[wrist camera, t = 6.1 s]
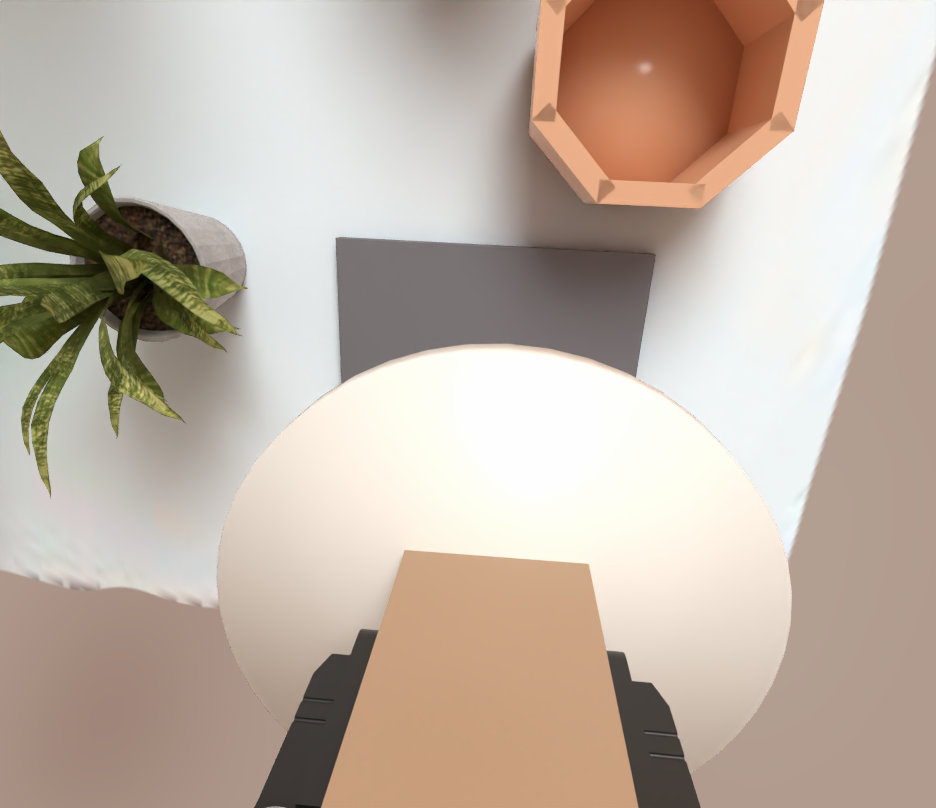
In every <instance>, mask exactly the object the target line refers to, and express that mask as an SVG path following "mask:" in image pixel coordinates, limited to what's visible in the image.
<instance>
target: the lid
mask: <svg viewBox="0 0 936 808" xmlns="http://www.w3.org/2000/svg"><path fill="white" fill-rule="evenodd" d="M217 587H218V599H219V608H220V612H221V617H222V621H223V625H224V629H225V633H226V637H227V639H228V642H229V644H230V647H231V649H232V652H233V654H234V657H235V659H236V662H237V664H238V666H239V667H240V669H241V671H242V673H243V674H244V676H245V678H246V680H247V682H248V684H249V685H250V687H251V689H252V690H253V691H254V693H255V694H256V695H257V697H258V698H259V699H260V701H261V702H262V703H263V705H264V706H265V707H266V709H267V710H268V712H269V713H270V714H271V715H272V716H273V717H274V718H275V719H276V720H277V721H278V722H279V723H280V724H281V725H282V727H283V728H284V729H285V730H286V731H287V732H288V730H289V728H290V726H291V724H292V722H294V718H295V714H296V712H297V710H298V707H299V705H300V703H301V702H302V701H303V696H304V694H305V691H306V689H307V687H308V684H309V682H310V680H311V677H312V675H313V673H314V672H315V671H316V670H317V669H318V668H319V667H320V666H321V665H322V664H323V662H324V661H325V660H326V659H327V658H328V657H329V656H330V655H331V654H343V655H350V654H351V652H352V649H353V646H354V644H355V641H356V638H357V636H358V633H359V631H360V630H361V629H370V630H379V631H378V634H377V637H376V640H375V643H374V646H373V649H372V652H371V655H370V658H369V661H368V665H367V668H366V671H365V674H364V677H363V680H362V683H361V686H360V689H359V692H358V695H357V698H356V702H355V705H354V708H353V711H352V714H351V717H350V720H349V723H348V726H347V729H346V732H345V735H344V738H343V742H342V745H341V748H340V751H339V754H338V757H337V760H336V763H335V766H334V769H333V772H332V775H331V779H330V782H329V785H328V788H327V791H326V794H325V797H324V800H323V803H322V806H321V808H638V803H637V798H636V793H635V788H634V783H633V778H632V773H631V769H630V764H629V759H628V754H627V749H626V744H625V739H624V734H623V729H622V724H621V720H620V715H619V710H618V705H617V700H616V695H615V690H614V685H613V680H612V676H611V671H610V666H609V661H608V656H607V651H619V652H624V654H625V656H626V659H627V663H628V667H629V671H630V675H631V679H632V681H638V682H649V683H652V684H653V685H654V687H655V688H656V689H657V691H658V692H659V693H660V695H661V696H662V697H663V699H664V700H665V701H666V703H667V704H668V705H669V707H670V710H671V713H672V717H673V720H674V723H675V726H676V730H677V733H678V734H677V735H678V738H679V739H680V743H681V746H682V749H683V752H684V759H685V761H686V762H687V765H688V769H689V772H690V774H691V773H693V772H694V771H695V770H697V769H698V768H699V767H701V766H702V765H703V764H705V763H706V762H707V761H709V760H710V759H711V758H713V757H714V756H716V755H717V754H718V753H719V752H720V751H721V750H722V749H723V748H724V747H725V746H726V745H727V744H728V743H729V742H730V741H731V740H732V739H733V738H735V736H737V735H738V734H739V732H740V731H741V730H742V729H743V727H744V726H745V725H746V724H747V722H748V721H749V720H750V719H751V717H752V716H753V715H754V714H755V712H756V711H757V710H758V708H759V706H760V705H761V703H762V701H763V700H764V698H765V696H766V694H767V693H768V691H769V689H770V687H771V686H772V684H773V682H774V679H775V677H776V674H777V672H778V669H779V666H780V664H781V661H782V658H783V656H784V653H785V648H786V643H787V638H788V634H789V628H790V624H791V598H792V590H791V583H790V576H789V568H788V561H787V557H786V553H785V550H784V547H783V544H782V541H781V538H780V534H779V531H778V528H777V525H776V523H775V521H774V519H773V517H772V516H771V514H770V512H769V510H768V508H767V506H766V504H765V502H764V500H763V498H762V496H761V494H760V493H759V491H758V490H757V488H756V487H755V486H754V484H753V483H752V482H751V480H750V479H749V478H748V476H747V475H746V473H745V472H744V471H743V469H742V468H741V467H740V465H739V464H738V463H737V461H736V460H735V459H734V458H733V457H732V456H731V454H730V453H729V452H728V451H727V450H726V449H725V448H724V446H723V445H722V444H721V443H720V442H719V441H718V440H717V439H716V438H715V437H714V436H713V435H712V434H711V433H710V432H709V431H708V430H707V429H706V428H705V427H704V426H703V425H702V424H701V423H700V422H699V421H698V420H697V419H696V418H695V417H694V416H693V415H692V414H691V413H689V412H688V411H687V410H685V409H684V408H683V407H681V406H680V405H679V404H677V403H676V402H675V401H673V400H672V399H671V398H669V397H668V396H667V395H665V394H664V393H662V392H661V391H659V390H657V389H655V388H654V387H652V386H650V385H648V384H646V383H644V382H643V381H641V380H639V379H637V378H635V377H634V376H632V375H630V374H628V373H626V372H623V371H621V370H618V369H616V368H613V367H610V366H608V365H605V364H603V363H600V362H598V361H595V360H592V359H590V358H586V357H582V356H578V355H574V354H570V353H566V352H562V351H558V350H554V349H550V348H542V347H533V346H524V345H515V344H465V345H458V346H451V347H444V348H438V349H431V350H425V351H422V352H418V353H415V354H411V355H408V356H404V357H400V358H397V359H393V360H390V361H387V362H385V363H383V364H380V365H378V366H376V367H374V368H371V369H369V370H367V371H364V372H362V373H360V374H357V375H355V376H353V377H352V378H350V379H348V380H347V381H345V382H344V383H342V384H340V385H339V386H337V387H335V388H334V389H332V390H331V391H329V392H327V393H326V394H324V395H323V396H322V397H320V398H319V399H318V400H317V401H316V402H314V403H313V404H312V405H311V406H310V407H308V408H307V409H306V410H305V411H304V412H303V413H301V414H300V415H299V416H298V417H297V418H296V419H295V420H294V421H292V422H291V423H290V424H289V425H288V426H287V427H286V428H285V429H284V430H283V431H282V432H281V433H280V434H279V435H278V436H277V437H276V438H275V440H274V441H273V442H272V443H271V444H270V445H269V446H268V448H267V449H266V450H265V451H264V452H263V453H262V454H261V455H260V457H259V458H258V459H257V460H256V461H255V463H254V465H253V466H252V468H251V469H250V471H249V473H248V474H247V476H246V477H245V479H244V480H243V482H242V484H241V485H240V487H239V488H238V491H237V493H236V495H235V498H234V500H233V503H232V505H231V507H230V510H229V512H228V514H227V517H226V520H225V524H224V528H223V533H222V537H221V541H220V545H219V553H218V566H217ZM606 650H607V651H606Z"/></svg>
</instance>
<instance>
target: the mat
mask: <svg viewBox="0 0 936 808" xmlns="http://www.w3.org/2000/svg"><path fill="white" fill-rule="evenodd" d="M336 256H337V281H338V306H339V331H340V355H341V380H342V383H344V382H345V381H347V380H348V379H350V378H352V377H353V376H355V375H357V374H360V373H362V372H364V371H367V370H369V369H371V368H374V367H376V366H378V365H380V364H383V363H385V362H387V361H390V360H393V359H397V358H400V357H404V356H408V355H411V354H415V353H418V352H422V351H425V350H431V349H438V348H444V347H451V346H458V345H465V344H515V345H524V346H533V347H542V348H550V349H554V350H558V351H562V352H566V353H570V354H574V355H578V356H582V357H586V358H590V359H592V360H595V361H598V362H600V363H603V364H605V365H608V366H610V367H613V368H616V369H618V370H621V371H623V372H626V373H628V374H630V375H632V376H634V377H635V378H636V372H637V366H638V359H639V353H640V347H641V341H642V335H643V329H644V323H645V317H646V311H647V305H648V299H649V292H650V286H651V280H652V274H653V268H654V262H655V256H656V255H654V254H648V253H629V252H610V251H591V250H573V249H554V248H535V247H516V246H498V245H479V244H460V243H441V242H422V241H404V240H385V239H366V238H347V237H338V238H336Z"/></svg>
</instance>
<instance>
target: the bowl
mask: <svg viewBox="0 0 936 808" xmlns="http://www.w3.org/2000/svg"><path fill="white" fill-rule="evenodd" d="M823 4H824V0H540V7H539V14H538V21H537V28H536V44H535V57H534V70H533V83H532V96H531V109H530V122H529V133H528V134H529V135H530V136H531V138H532V139H533V140H534V141H535V143H536V144H537V145H538V146H539V148H540V149H541V150H542V151H543V153H544V154H545V155H546V156H547V158H548V159H549V160H550V161H551V163H552V164H553V165H554V167H555V168H556V169H557V170H558V172H559V173H560V174H561V175H562V177H563V178H564V179H565V180H566V182H567V183H568V184H569V185H570V187H571V188H572V189H573V190H574V192H575V193H576V194H577V195H578V197H579V198H580V199H581V200H582V202H583V203H587V204H613V205H634V206H655V207H669V208H692V209H700V208H702V207H703V206H704V205H705V204H706V203H708V202H709V201H710V200H711V199H712V198H714V197H715V196H716V195H717V194H718V193H720V192H721V191H722V190H723V189H725V188H726V187H727V186H728V185H729V184H731V183H732V182H733V181H734V180H735V179H737V178H738V177H739V176H740V175H741V174H743V173H744V172H745V171H746V170H747V169H749V168H750V167H751V166H752V165H753V164H755V163H756V162H757V161H758V160H759V159H761V158H762V157H763V156H764V155H765V154H767V153H768V152H769V151H770V150H771V149H773V148H774V147H775V146H776V145H777V144H779V143H780V142H781V141H782V140H783V139H785V138H786V137H787V136H788V135H789V134H791V133H792V132H794V128H795V123H796V119H797V115H798V111H799V106H800V102H801V98H802V94H803V89H804V85H805V81H806V76H807V72H808V68H809V64H810V59H811V55H812V51H813V47H814V42H815V38H816V34H817V29H818V25H819V21H820V17H821V12H822V8H823Z"/></svg>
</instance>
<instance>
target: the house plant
mask: <svg viewBox="0 0 936 808" xmlns="http://www.w3.org/2000/svg"><path fill="white" fill-rule="evenodd" d="M103 137H104V136H103ZM103 137H101V138H100V139H99V140H97V141H96V142H94V143H93V144H91V145H89V146H88V147H86V148H85V149H83V150H81V151H80V153H79V157H78V161H77V164H78V173H79V175H80V178H81V180H82V182H83V184H84V186H85V187H84V188H83V189H82V190H81V191H80V192H79V194H78V195H77V197H76V198H75V201H74V205H73V218H74V222H75V223H74V222H73V221H72V220H71V219H70V218H69V217H68V216H67V215H65V213H64V212H63V211H62V210H61V208H60V207H59V206H58V204H57V203H56V202H55V201H54V199H53V198H52V196H51V195H50V193H49V192H48V190H47V189H46V187H45V186H44V185H43V183H42V182H41V181H40V180H39V179H38V178H37V177H36V176H35V175H34V174H33V173H31V172H30V171H29V170H28V169H27V168H26V167H25V166H24V165H23V164H22V163H21V162H20V161H19V159H18V158H17V157H16V156H15V155H14V154H13V153H12V152H11V150H10V148H9V146H8V145H7V143H6V141H5V139H4V137H3V135H2V133H1V131H0V174H1V175H2V176H3V178H4V179H5V180H6V181H7V183H8V184H9V185H10V187H11V188H12V189H13V191H14V192H15V193H16V194H17V196H18V197H19V198H20V199H21V200H22V201H23V202H24V203H25V204H26V205H27V206H28V207H29V208H30V209H31V210H32V211H34V212H35V213H37V214H39V215H40V216H42V217H43V218H45V219H47V220H48V221H50V222H51V223H53V224H54V225H56V226H57V227H58V228H60V229H61V230H62V231H64V232H65V233H66V234H68V235H69V236H70V237H71V238H72V239H69V238H65V237H62V236H58V235H55V234H52V233H49V232H47V231H44V230H41V229H39V228H36V227H33V226H31V225H29V224H27V223H25V222H23V221H22V220H20V219H18V218H16V217H14V216H12V215H11V214H9V213H7V212H6V211H4V210H2V209H0V236H3V237H6V238H8V239H11V240H14V241H17V242H20V243H22V244H26V245H29V246H32V247H36V248H39V249H42V250H46V251H49V252H55V253H60V254H65V255H70V265H66V264H50V263H18V264H5V265H0V296H7V295H13V296H27V297H25V298H24V300H23V301H22V303H18V304H12V305H7V306H1V307H0V343H2V342H4V343H5V344H6V345H8V346H9V347H10V348H12V349H13V350H14V351H16V352H17V353H18V354H20V355H21V356H22V357H24V358H28V359H35V358H39V357H41V356H42V355H43V354H45V353H46V352H47V351H48V350H49V349H50V348H51V347H52V345H53V344H54V343H55V342H56V341H57V340H58V339H59V338H60V337H61V336H62V335H64V334H65V333H67V332H69V331H70V330H72V329H73V328H75V327H77V326H78V325H79V327H78V328H77V329H76V330H75V331H74V332H73V334H72V335H71V336H70V337H69V339H68V340H67V341H66V343H65V344H64V345H63V347H62V348H61V350H60V351H59V353H58V354H57V355H56V356H55V358H54V359H53V360H52V362H51V363H50V364H49V366H48V367H47V368H46V369H45V371H44V372H43V373H42V375H41V376H40V377H39V379H38V380H37V382H36V383H35V385H34V386H33V388H32V389H31V391H30V393H29V395H28V397H27V399H26V401H25V403H24V405H23V408H22V417H21V424H22V434H23V440H24V444H25V446H26V448H27V450H28V453H29V455H30V450H29V430H28V429H29V422H30V418H31V414H32V410H33V407H34V405H35V402H36V400H37V398H38V395H39V393H40V392H41V390H42V389H43V387H44V385H45V384H46V382H47V381H48V380H49V381H48V383H47V385H46V387H45V389H44V391H43V393H42V395H41V397H40V399H39V401H38V403H37V407H36V410H35V413H34V417H33V420H32V424H31V429H32V443H33V447H34V452H35V456H36V460H37V465H38V469H39V473H40V476H41V479H42V480H43V482H44V484H45V486H46V487H47V489H48V491H49V493H50V499H51V488H50V482H49V474H48V464H47V436H48V427H49V421H50V418H51V414H52V411H53V408H54V404H55V402H56V400H57V398H58V396H59V393H60V391H61V389H62V387H63V386H64V384H65V382H66V380H67V378H68V377H69V375H70V373H71V371H72V369H73V367H74V364H75V362H76V359H77V357H78V354H79V352H80V350H81V348H82V346H83V345H84V343H85V341H86V339H87V337H88V335H89V333H90V332H91V330H92V328H93V327H94V325H95V323H96V322H97V320H98V318H100V319H101V323H100V327H99V350H100V356H101V362H102V365H103V368H104V371H105V374H106V375H107V377H108V378H109V380H110V381H111V386H110V389H109V392H108V405H109V410H110V419H111V424H112V427H113V429H114V431H115V433H116V435H117V437H118V424H119V411H120V405H121V401H122V396H123V393H124V394H126V395H127V396H129V397H131V398H133V399H135V400H138V401H140V402H142V403H143V404H145V405H147V406H148V407H150V408H152V409H153V410H155V411H157V412H159V413H161V414H162V415H165V416H169V417H172V418H176V419H180V420H182V421H183V419H182V418H181V417H180V416H179V415H178V414H177V413H175V412H174V411H173V410H172V409H171V408H169V407H168V406H167V404H165V402H164V400H165V399H164V396H163V392H162V390H161V388H160V387H159V385H158V383H157V382H156V380H155V379H154V378H153V376H152V375H151V374H150V372H149V371H148V370H147V368H146V367H145V365H144V364H143V363H142V361H141V360H140V358H139V357H138V355H137V354H136V352H135V348H136V342H137V339H139V340H142V341H155V342H162V341H166V340H170V339H174V338H177V337H179V336H181V335H182V334H187V335H190V336H194V337H196V338H198V339H200V340H202V341H204V342H205V343H207V344H208V345H210V346H212V347H214V348H218V349H223V350H225V349H224V347H223V346H221V345H220V344H219V343H218V342H217V341H215V340H214V339H213V338H212V337H211V336H210V335H209V334H213V333H218V332H222V331H227V332H229V333H232V334H235V335H239V334H237V333H236V332H235V329H239V328H236V327H232V326H231V325H230V324H229V322H228V321H227V320H226V319H225V318H224V317H222V316H221V315H220V314H219V313H217V312H216V311H215V310H216V309H217V308H218V307H220V306H221V305H222V304H223V303H225V302H226V301H227V300H229V299H230V298H231V297H232V296H234V295H235V294H236V293H237V291H238V290H241V289H247V288H246V287H242V284H243V281H244V279H245V273H246V261H245V254H244V252H243V249H242V247H241V244H240V242H239V241H238V239H237V238H236V236H235V235H234V233H232V232H231V231H230V230H229V229H228V228H227V227H226V226H225V225H224V224H222V223H220V222H219V221H217V220H215V219H213V218H210V217H206V216H203V215H199V214H195V213H191V212H187V211H183V210H179V209H175V208H171V207H168V206H164V205H160V204H156V203H152V202H148V201H144V200H140V199H136V198H113V196H112V193H111V190H110V187H109V184H108V182H107V180H108V179H109V178H110V177H111V176H112V175H113V174H114V173H115V172H116V171H117V170H118V168H119V167H120V166H119V167H118V168H116V169H114V170H112V171H111V172H109V173H108V174H106V175H105V173H104V170H103V168H102V165H101V162H100V159H99V142H100V141H101V139H102V138H103ZM89 195H91V197H92V198H93V200H94V201H95V202H96V205H94V206H93V207H92V208H90V209H89V210H88V211H86V210H85V209H84V208H83V205H82V201H83V200H84V199H85V198H86V197H88V196H89ZM106 324H107V325H108V326H110V327H111V328H113V329H115V330H117V331H118V339H117V347H116V351H117V357H118V359H117V358H116V356H115V355H114V353H113V350H112V347H111V345H110V341H109V336H108V331H107V326H106ZM240 336H242V335H240ZM225 351H226V350H225ZM226 352H227V351H226ZM227 353H228V352H227ZM49 378H50V379H49ZM165 401H166V400H165ZM183 422H184V421H183ZM184 423H185V422H184Z"/></svg>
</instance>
